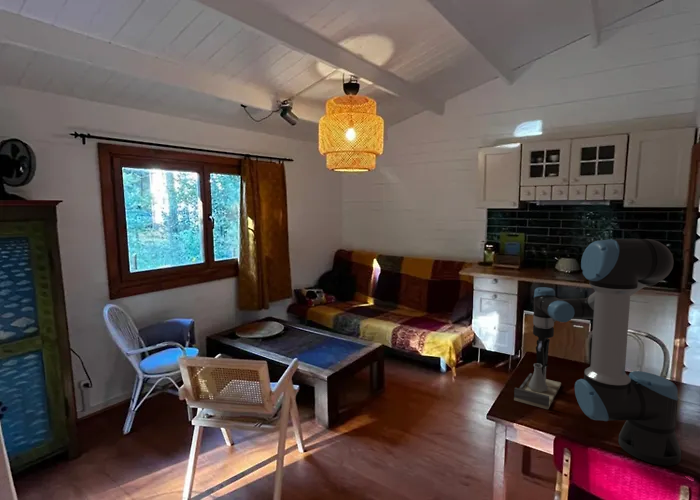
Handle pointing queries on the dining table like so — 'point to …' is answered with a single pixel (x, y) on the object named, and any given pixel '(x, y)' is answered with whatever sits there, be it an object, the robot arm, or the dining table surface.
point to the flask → (538, 379)
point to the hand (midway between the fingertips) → (541, 381)
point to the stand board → (536, 393)
